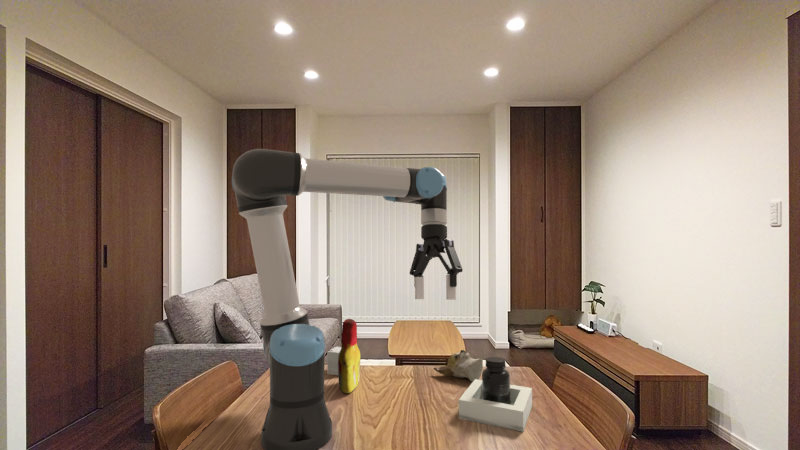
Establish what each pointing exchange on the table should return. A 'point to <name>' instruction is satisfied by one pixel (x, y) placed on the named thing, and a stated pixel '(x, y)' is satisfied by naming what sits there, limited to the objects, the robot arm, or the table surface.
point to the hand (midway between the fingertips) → (434, 299)
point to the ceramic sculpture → (462, 366)
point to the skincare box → (333, 360)
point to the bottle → (349, 357)
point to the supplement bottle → (496, 381)
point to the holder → (496, 407)
